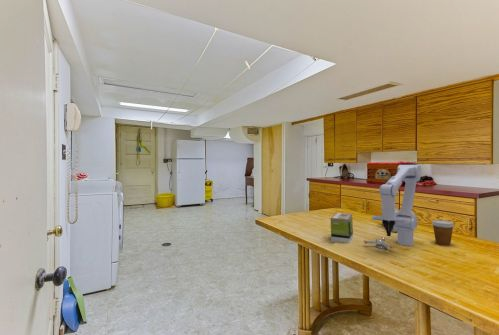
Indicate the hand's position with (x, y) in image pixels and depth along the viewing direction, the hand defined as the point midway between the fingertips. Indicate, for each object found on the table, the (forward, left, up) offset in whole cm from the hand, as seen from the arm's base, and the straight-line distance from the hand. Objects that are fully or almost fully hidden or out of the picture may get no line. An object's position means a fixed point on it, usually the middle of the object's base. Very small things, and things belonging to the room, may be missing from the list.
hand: (388, 235), depth 121 cm
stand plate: (-5, -5, -9) cm, 11 cm away
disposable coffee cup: (-30, +23, -9) cm, 39 cm away
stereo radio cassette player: (-51, -2, -9) cm, 52 cm away
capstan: (-4, -3, -8) cm, 9 cm away
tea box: (-10, -25, -9) cm, 28 cm away
